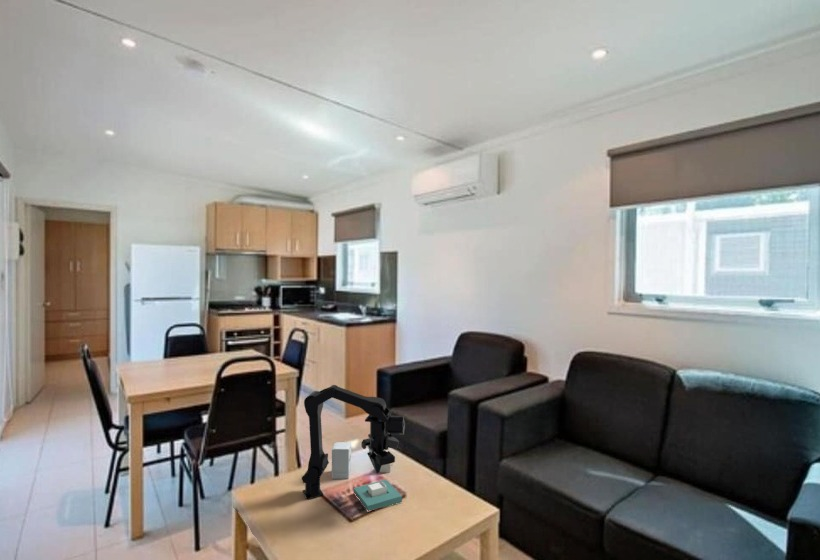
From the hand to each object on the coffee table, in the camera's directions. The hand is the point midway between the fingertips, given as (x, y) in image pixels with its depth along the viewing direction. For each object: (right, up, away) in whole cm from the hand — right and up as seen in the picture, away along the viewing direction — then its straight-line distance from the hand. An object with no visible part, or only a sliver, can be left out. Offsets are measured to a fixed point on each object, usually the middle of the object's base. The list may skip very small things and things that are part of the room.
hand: (377, 472), depth 160 cm
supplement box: (-17, -10, +19) cm, 27 cm away
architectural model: (+1, -10, +22) cm, 24 cm away
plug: (0, -10, 0) cm, 10 cm away
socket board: (0, -10, 0) cm, 10 cm away
